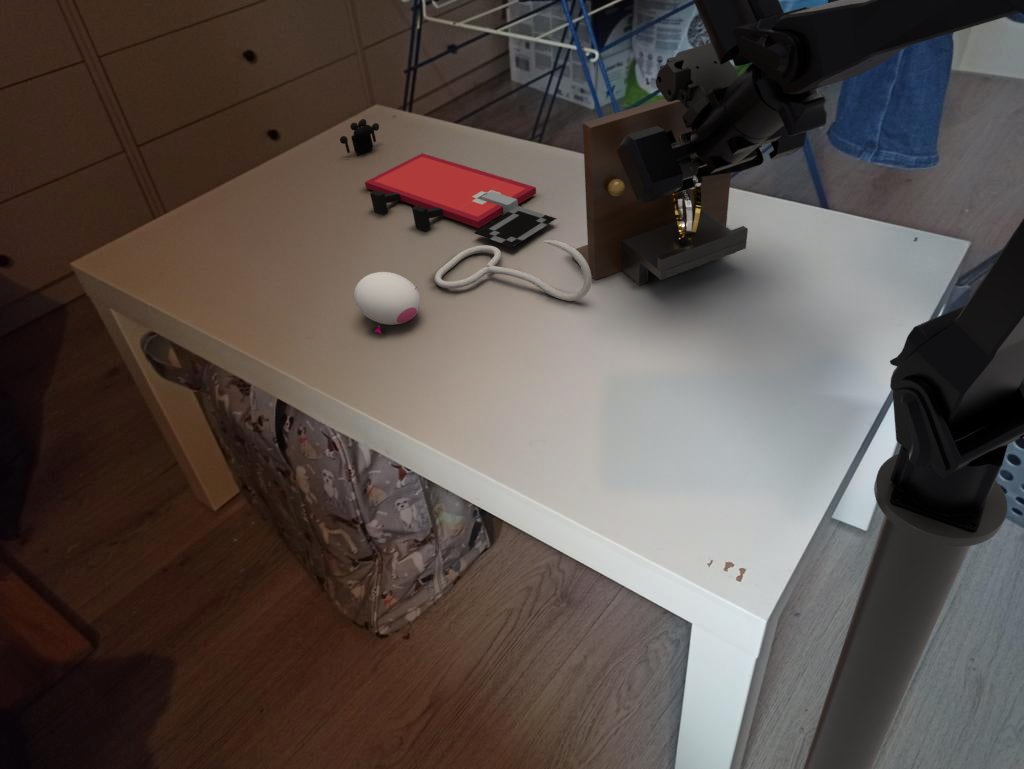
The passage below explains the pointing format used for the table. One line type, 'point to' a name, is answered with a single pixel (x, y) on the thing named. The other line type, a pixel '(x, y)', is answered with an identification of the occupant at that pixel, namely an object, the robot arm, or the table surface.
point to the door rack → (647, 205)
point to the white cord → (516, 271)
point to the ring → (688, 211)
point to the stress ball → (387, 298)
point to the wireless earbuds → (361, 137)
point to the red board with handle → (459, 198)
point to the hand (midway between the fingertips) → (676, 178)
